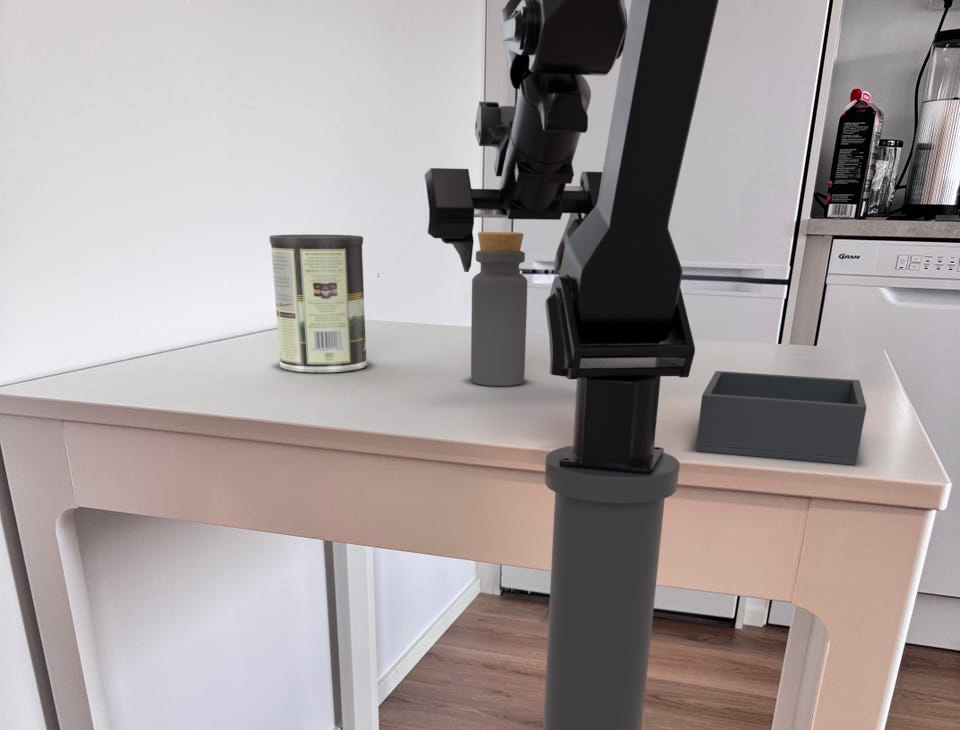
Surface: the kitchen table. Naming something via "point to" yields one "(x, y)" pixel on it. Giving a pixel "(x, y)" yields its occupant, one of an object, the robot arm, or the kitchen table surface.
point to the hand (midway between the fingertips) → (511, 268)
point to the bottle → (499, 311)
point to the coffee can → (319, 302)
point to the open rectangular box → (782, 417)
